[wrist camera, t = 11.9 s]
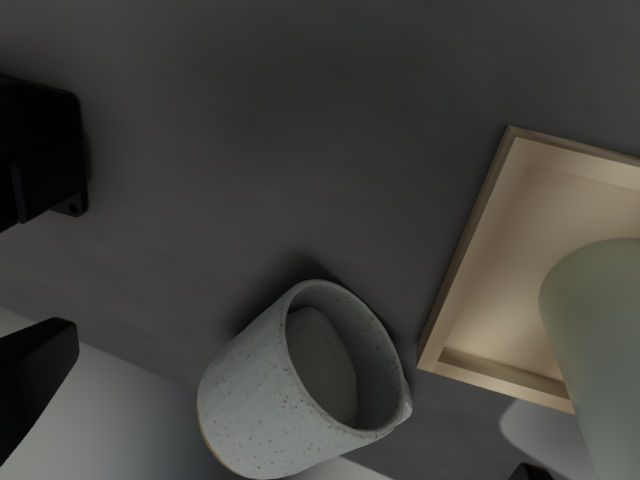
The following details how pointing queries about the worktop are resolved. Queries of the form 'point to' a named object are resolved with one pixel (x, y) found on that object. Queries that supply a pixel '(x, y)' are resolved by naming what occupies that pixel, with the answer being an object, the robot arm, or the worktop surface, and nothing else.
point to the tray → (524, 260)
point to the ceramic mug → (302, 384)
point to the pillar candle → (600, 348)
